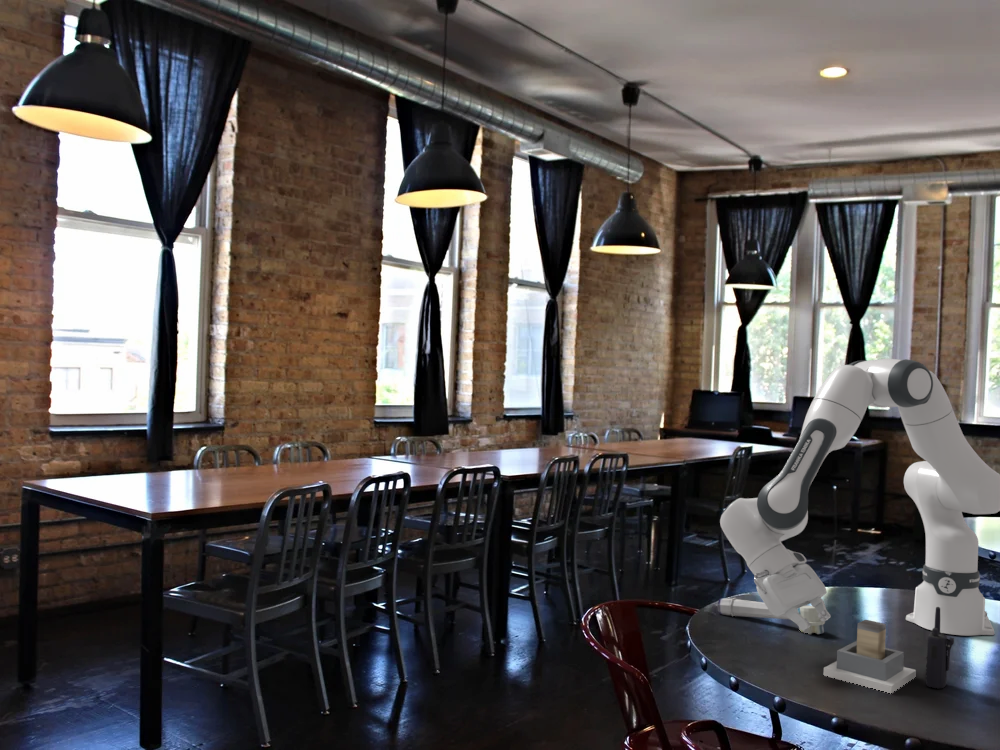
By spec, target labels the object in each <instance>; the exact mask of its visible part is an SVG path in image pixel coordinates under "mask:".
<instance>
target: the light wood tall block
mask: <svg viewBox="0 0 1000 750" xmlns="http://www.w3.org/2000/svg"><path fill="white" fill-rule="evenodd" d="M856 631H857V633H856V641H857V654H860V655H864V656H868V657H872V658H876V659H880V660H883V659H884V658H885V648H886V636H887V635H886V634H887V633H886V632H887V623H883V622H880V621H879V622H878V621H874V620H869V619H864V620H861V621H859V622H857V629H856Z"/></svg>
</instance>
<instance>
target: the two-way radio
mask: <svg viewBox="0 0 1000 750" xmlns="http://www.w3.org/2000/svg"><path fill="white" fill-rule="evenodd" d="M954 643H955V639H954V637H949V638H948V637H947V635H946V634H945V633H941V632H940V607H936V613H935V627H934V628H933V629H932V630H931V632H930V633H929V634H928V636H927V650H926V651H927V653H926V665H925V667H926V668H925V671H926V673H925V685H926V687H928V688H931V687H932V689H936V688H937V689H936V690H939V689H943V688H945V687H946V685H947V677H948V676H947V675H948V674H947V672H948V671H949V670H950V658H951V649H952V646H953V645H954Z"/></svg>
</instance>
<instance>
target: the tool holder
mask: <svg viewBox="0 0 1000 750" xmlns="http://www.w3.org/2000/svg"><path fill="white" fill-rule="evenodd" d="M904 657H905V652H904V651H901V650H897V649H892V648H888V647H885V658H884V659H883V660H880V659H876V658H872V657H868V656H864V655H860V654H857V640H855V641H854V642H851V643H849V644H848V645H845V646H843V647H841V648H839V649H838V650H836V660H835V661H834V662H832V663H830V664H829V665H827V666H824V667H823V675H824V677H827V676H828V677H827V678H832V679H834V678H835V679H834V680H839V681H841V680H842V682H845V681H846V682H845V683H849V682H850V683H849V684H852V683H854V684H853V685H856V684H858V685H857V686H859V685H861V686H860V687H863V686H865V687H864V688H867V687H868V689H870V688H873V689H872V690H874V689H876V690H875V691H878V690H880V691H879V692H881V691H884V692H883V693H885V692H887V693H886V694H888V693H890V694H889V695H892V694H894V693H895V692H896V691H898V690H900V689H901V688H902V687H904V686H906V685H907V684H908V682H909V681H910V682H911V680H912V679H913V680H914V678H915V677H916V678H917V670H916V669H914V668H909V667H905V666H904V663H905V661H904V659H905V658H904ZM916 678H915V679H916ZM913 680H912V681H913ZM910 682H909V683H910ZM906 683H907V684H906ZM905 684H906V685H905ZM903 685H904V686H903ZM900 687H901V688H900ZM897 689H898V690H897ZM894 691H895V692H894ZM891 693H892V694H891Z"/></svg>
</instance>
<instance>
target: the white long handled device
mask: <svg viewBox="0 0 1000 750" xmlns="http://www.w3.org/2000/svg"><path fill="white" fill-rule="evenodd" d="M797 610H798V613H799V614H800V615H801V616H802V617H803V618H807V620H808V622H810V624H811V626H810V627H809V628H807V629H806V630H801V629H800V628H799V626H798V625H797V629H799V630H800V631H801V632H800V631H799V630H798V631H799V632H800V633H804V634H805V633H808V634H807V635H812V634H814V633H815V634H816V635H820V634H824V633H825V629H824V628H825V627H824V625H825V624H826V621H821V619H820V618H819V617H818V616H817V615H818V612H817V610H816V608H815V607H813V606H812V605H805V606H802V607H800V608H797ZM717 612H718V613H719V615H724V616H731V617H733V616H735V617H746V618H747V617H748V618H760V619H761V618H764V619H777V620H780V619H781V620H790V619H789V618H788V617H787V616H786V614H782V615H780V616H775V615H773V614H772V613H771V612H770V611H769V609H768V608H767V606H766V605H765V603H764V602H763V601H755V600H746V599H738V598H737V597H733V598H732V597H731V598H719V599H718V602H717Z"/></svg>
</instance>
